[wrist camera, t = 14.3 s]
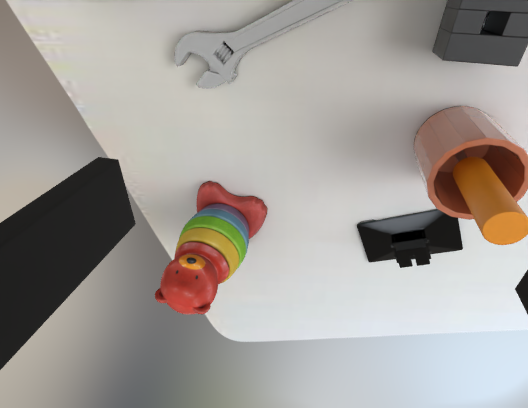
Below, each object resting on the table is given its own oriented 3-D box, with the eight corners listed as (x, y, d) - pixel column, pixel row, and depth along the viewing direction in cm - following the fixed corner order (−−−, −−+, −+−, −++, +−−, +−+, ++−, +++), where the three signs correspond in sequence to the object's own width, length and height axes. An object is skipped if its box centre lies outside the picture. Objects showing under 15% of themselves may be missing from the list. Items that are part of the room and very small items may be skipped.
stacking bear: (270, 201, 48) (231, 293, 33) (254, 249, 53) (215, 345, 39) (202, 176, 48) (134, 256, 34) (193, 227, 54) (133, 313, 40)
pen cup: (426, 102, 36) (444, 132, 28) (509, 110, 34) (552, 145, 26) (405, 168, 40) (416, 211, 32) (477, 179, 39) (506, 225, 31)
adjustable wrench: (400, -59, 29) (402, -62, 28) (409, 18, 32) (412, 20, 31) (174, 40, 38) (167, 42, 37) (197, 94, 41) (191, 97, 40)
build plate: (368, 260, 49) (369, 282, 45) (356, 221, 46) (355, 242, 42) (462, 248, 44) (471, 272, 40) (455, 204, 41) (464, 225, 37)
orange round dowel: (444, 130, 36) (492, 208, 23) (473, 133, 36) (539, 215, 23) (435, 155, 38) (475, 241, 25) (463, 158, 37) (519, 248, 24)
